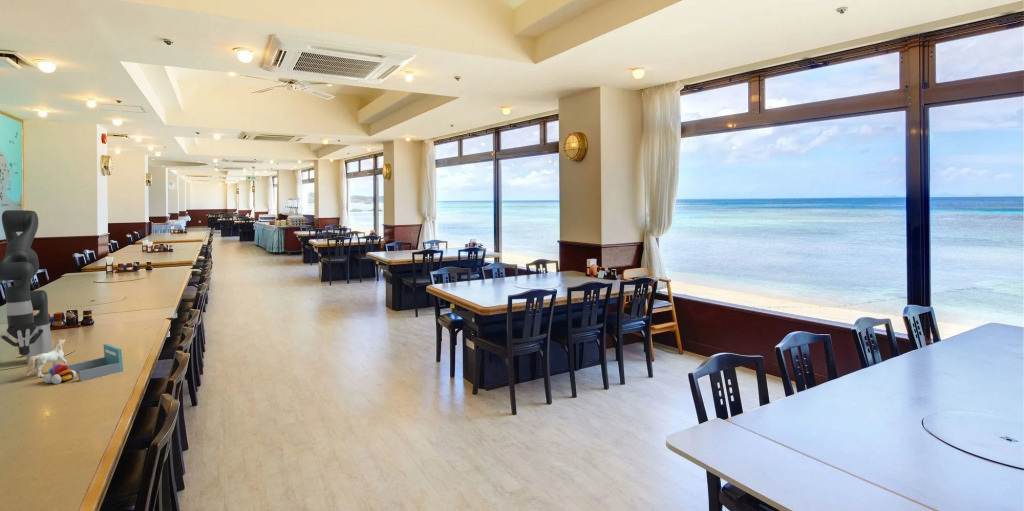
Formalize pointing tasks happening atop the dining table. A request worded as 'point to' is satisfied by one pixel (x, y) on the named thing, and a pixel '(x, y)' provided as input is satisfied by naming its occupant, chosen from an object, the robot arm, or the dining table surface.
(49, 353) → the unicorn figurine
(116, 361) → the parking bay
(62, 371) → the white-wheeled rainbow disc toy
